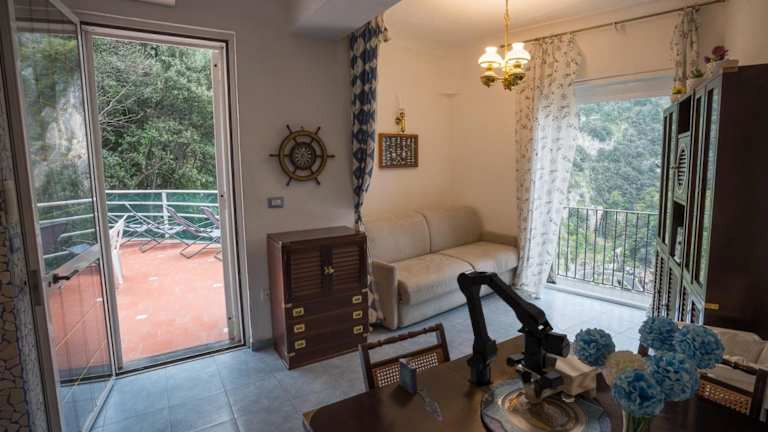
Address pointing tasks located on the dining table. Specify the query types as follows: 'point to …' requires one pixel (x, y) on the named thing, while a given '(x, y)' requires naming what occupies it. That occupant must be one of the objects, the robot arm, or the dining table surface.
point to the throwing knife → (430, 404)
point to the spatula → (531, 394)
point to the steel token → (568, 397)
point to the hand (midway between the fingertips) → (533, 395)
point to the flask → (408, 375)
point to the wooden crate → (575, 376)
